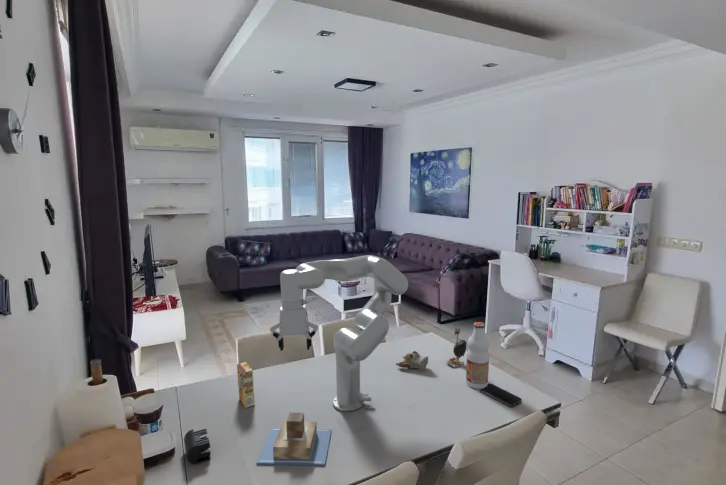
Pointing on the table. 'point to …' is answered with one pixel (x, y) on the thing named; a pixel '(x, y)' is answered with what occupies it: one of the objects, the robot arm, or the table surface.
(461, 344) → the plant with pod
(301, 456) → the oak base block
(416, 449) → the table surface
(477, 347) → the fruit juice
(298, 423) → the walnut block
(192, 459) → the end cap
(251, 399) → the candy box
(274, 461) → the blueprint board
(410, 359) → the ceramic sculpture
